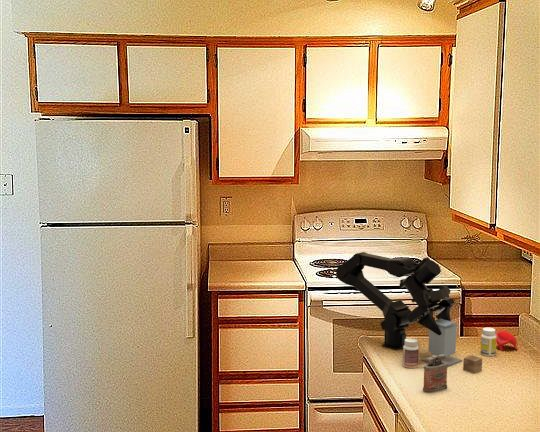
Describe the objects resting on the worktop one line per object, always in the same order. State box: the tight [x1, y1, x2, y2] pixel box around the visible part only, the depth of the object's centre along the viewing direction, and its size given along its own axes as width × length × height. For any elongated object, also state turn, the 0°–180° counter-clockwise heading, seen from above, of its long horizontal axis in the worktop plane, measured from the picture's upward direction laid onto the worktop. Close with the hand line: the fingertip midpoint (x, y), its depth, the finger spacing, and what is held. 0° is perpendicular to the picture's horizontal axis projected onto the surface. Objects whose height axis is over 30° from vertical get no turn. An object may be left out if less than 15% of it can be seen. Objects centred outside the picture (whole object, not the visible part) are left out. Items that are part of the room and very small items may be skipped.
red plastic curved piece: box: [495, 330, 518, 351], centre depth 235 cm, size 8×6×6 cm
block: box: [462, 354, 483, 374], centre depth 216 cm, size 4×4×4 cm
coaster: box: [421, 354, 463, 368], centre depth 224 cm, size 9×9×1 cm
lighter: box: [422, 354, 448, 394], centre depth 201 cm, size 8×3×10 cm, turn 117°
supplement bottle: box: [480, 327, 497, 357], centre depth 230 cm, size 5×5×8 cm
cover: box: [427, 319, 458, 357], centre depth 223 cm, size 6×6×10 cm
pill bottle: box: [402, 337, 420, 369], centre depth 219 cm, size 5×5×8 cm
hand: (446, 332), depth 222 cm, fingers closed on cover, 6 cm apart
